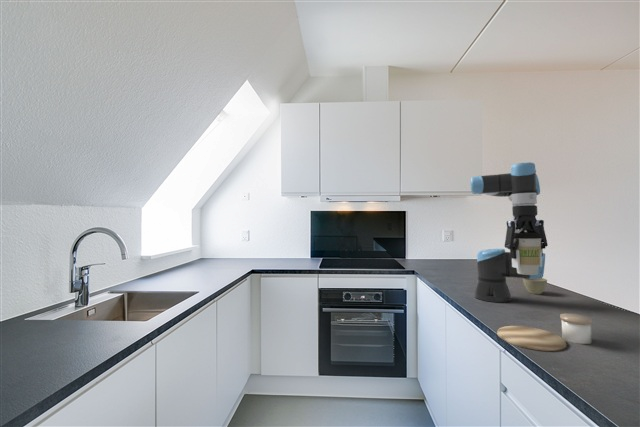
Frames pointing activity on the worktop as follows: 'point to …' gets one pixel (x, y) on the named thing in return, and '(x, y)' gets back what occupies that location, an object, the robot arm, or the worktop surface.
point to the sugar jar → (576, 328)
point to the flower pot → (535, 285)
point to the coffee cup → (529, 252)
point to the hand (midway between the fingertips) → (527, 266)
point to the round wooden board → (531, 338)
